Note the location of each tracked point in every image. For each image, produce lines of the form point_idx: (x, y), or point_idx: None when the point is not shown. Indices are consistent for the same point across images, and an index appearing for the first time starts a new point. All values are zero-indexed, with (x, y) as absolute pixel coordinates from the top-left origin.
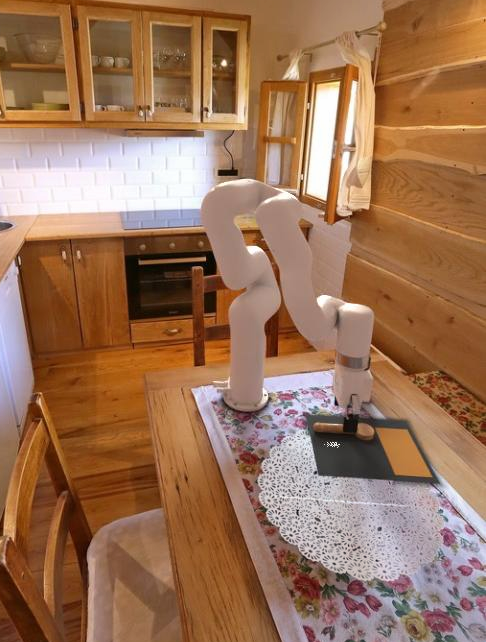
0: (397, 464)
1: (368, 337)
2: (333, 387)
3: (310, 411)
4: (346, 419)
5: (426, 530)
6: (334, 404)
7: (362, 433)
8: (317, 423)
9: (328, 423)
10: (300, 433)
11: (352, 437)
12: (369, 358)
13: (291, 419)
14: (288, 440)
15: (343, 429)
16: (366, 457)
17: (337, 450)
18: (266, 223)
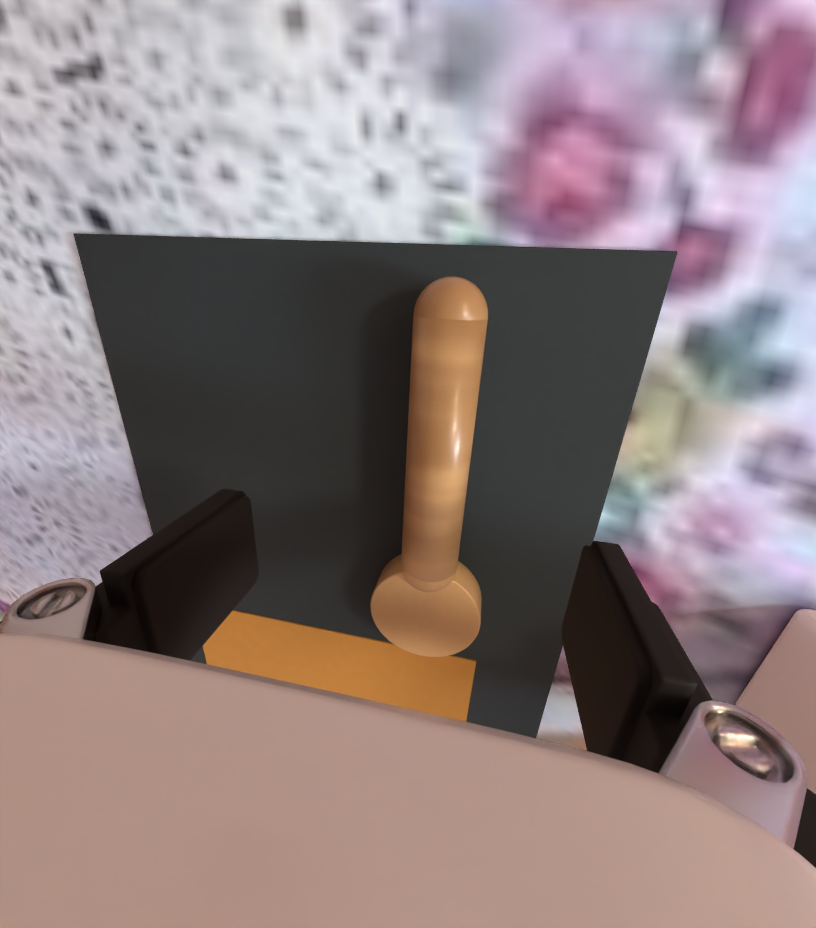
0: (247, 635)
1: None
2: (582, 831)
3: (722, 313)
4: (61, 582)
5: (16, 579)
6: (599, 544)
7: (389, 592)
8: (450, 314)
9: (456, 415)
10: (434, 155)
11: (396, 528)
12: None
13: (640, 68)
14: (343, 5)
15: (212, 498)
16: (263, 537)
17: (285, 409)
18: None
